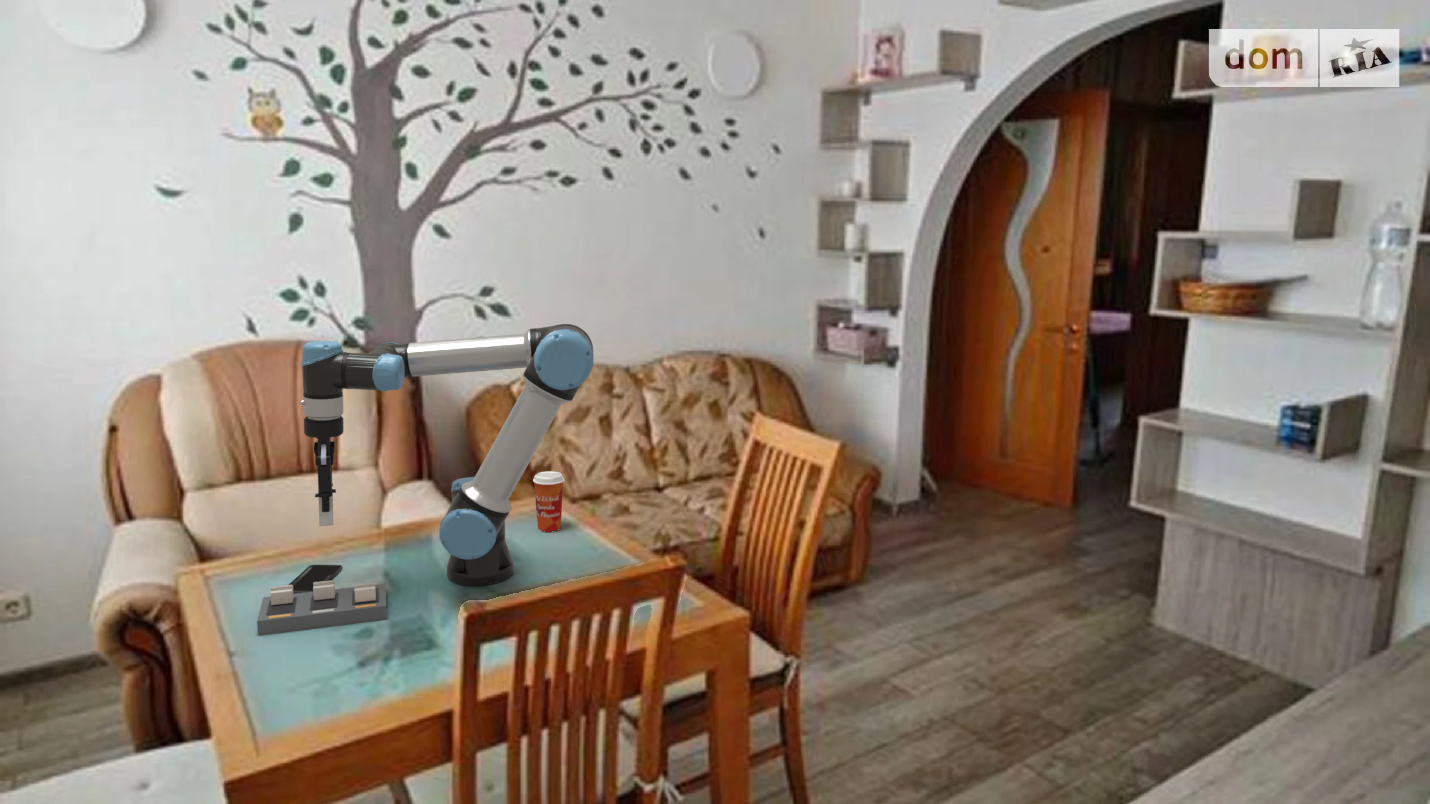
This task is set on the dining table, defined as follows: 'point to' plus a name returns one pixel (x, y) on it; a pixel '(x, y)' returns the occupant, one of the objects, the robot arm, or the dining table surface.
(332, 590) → the switch tab
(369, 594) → the switch tab
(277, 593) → the switch tab
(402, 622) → the dining table surface
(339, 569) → the phone
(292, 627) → the switch board
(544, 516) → the coffee cup
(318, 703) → the dining table surface
